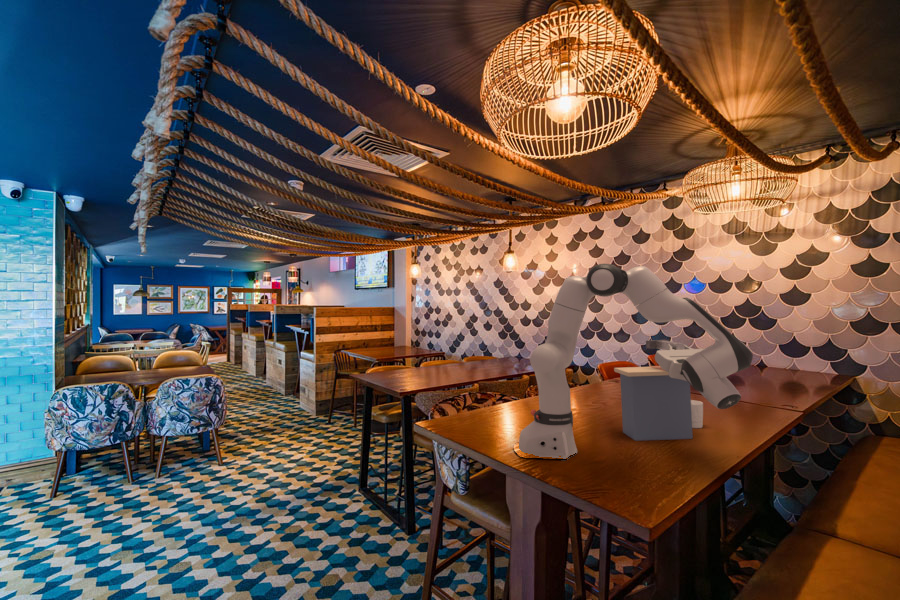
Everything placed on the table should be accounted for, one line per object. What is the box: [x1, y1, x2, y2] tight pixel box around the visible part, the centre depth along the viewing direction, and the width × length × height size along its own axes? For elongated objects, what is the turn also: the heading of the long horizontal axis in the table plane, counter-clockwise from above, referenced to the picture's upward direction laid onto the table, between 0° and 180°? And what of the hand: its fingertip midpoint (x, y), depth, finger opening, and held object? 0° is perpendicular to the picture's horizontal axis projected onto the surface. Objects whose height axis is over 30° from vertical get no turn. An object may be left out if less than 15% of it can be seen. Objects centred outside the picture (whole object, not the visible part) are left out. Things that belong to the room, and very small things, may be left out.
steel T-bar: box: [645, 339, 686, 350], centre depth 142 cm, size 8×16×3 cm, turn 0°
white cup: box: [691, 399, 704, 429], centre depth 158 cm, size 8×8×10 cm
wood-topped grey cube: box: [613, 365, 694, 442], centre depth 148 cm, size 26×12×26 cm, turn 90°
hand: (674, 345), depth 138 cm, fingers closed on steel T-bar, 3 cm apart
